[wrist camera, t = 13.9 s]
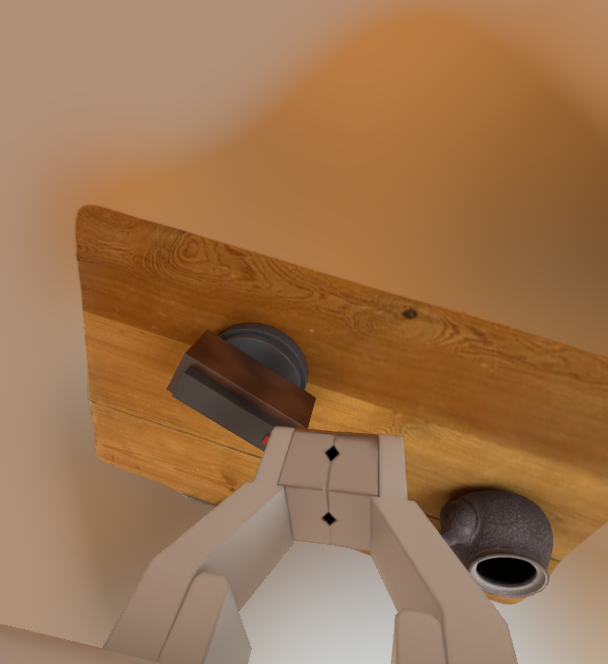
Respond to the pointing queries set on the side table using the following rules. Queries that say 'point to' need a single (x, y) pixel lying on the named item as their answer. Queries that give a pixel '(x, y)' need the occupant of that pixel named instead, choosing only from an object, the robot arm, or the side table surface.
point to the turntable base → (278, 338)
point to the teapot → (499, 541)
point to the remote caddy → (243, 385)
